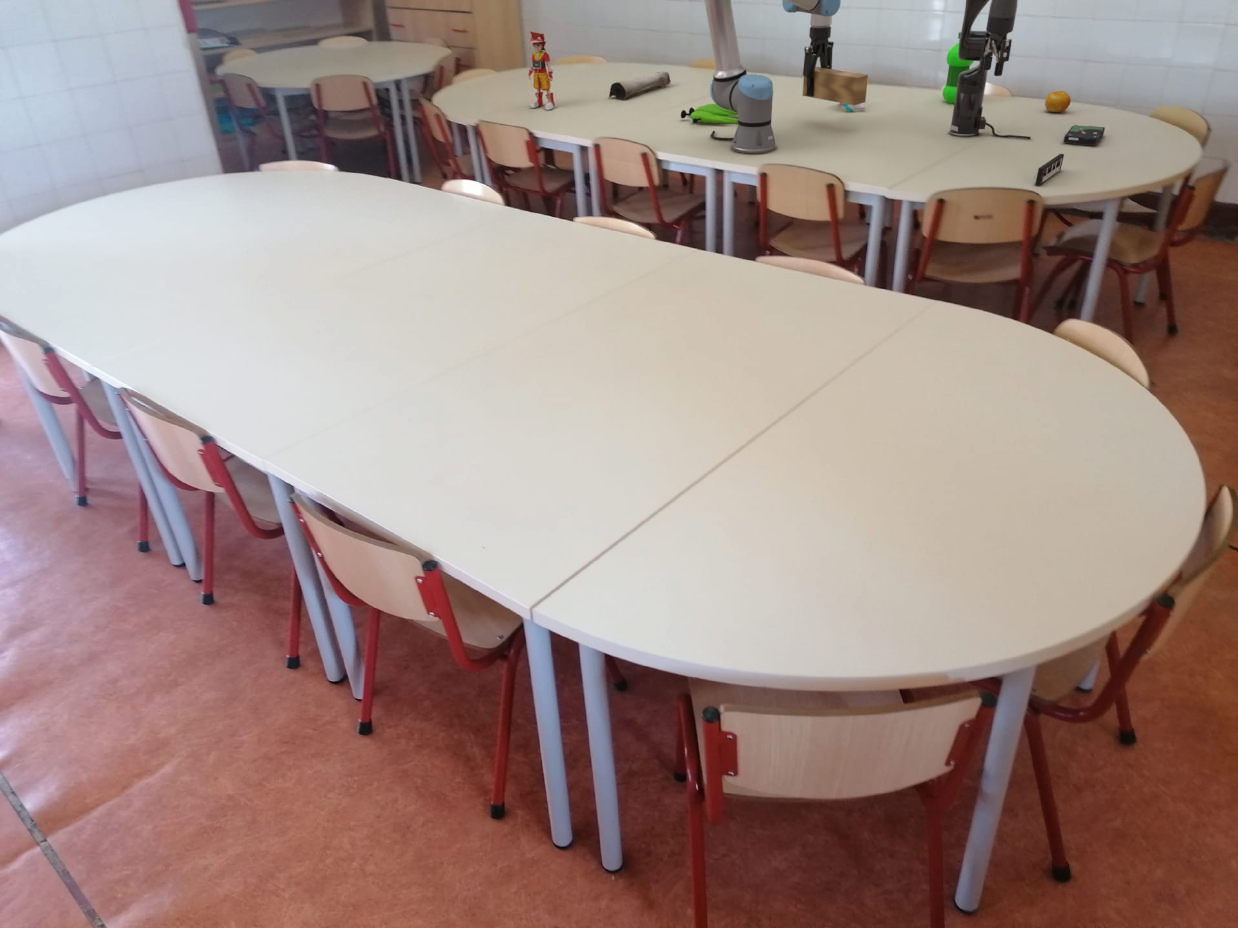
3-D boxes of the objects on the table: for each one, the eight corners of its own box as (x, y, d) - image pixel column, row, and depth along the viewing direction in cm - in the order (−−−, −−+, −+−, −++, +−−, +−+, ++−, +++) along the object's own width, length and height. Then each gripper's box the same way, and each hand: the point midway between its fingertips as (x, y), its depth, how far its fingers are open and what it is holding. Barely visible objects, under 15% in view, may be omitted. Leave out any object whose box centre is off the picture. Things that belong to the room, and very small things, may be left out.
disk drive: (1096, 147, 298) (1103, 135, 308) (1098, 138, 296) (1105, 126, 306) (1062, 144, 302) (1070, 132, 312) (1064, 135, 301) (1072, 124, 311)
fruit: (1041, 103, 332) (1056, 84, 329) (1039, 107, 340) (1054, 87, 337) (1060, 116, 331) (1076, 96, 328) (1058, 119, 339) (1073, 100, 335)
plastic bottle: (973, 101, 354) (984, 32, 339) (955, 106, 349) (966, 36, 335) (952, 97, 361) (962, 29, 346) (934, 102, 356) (944, 33, 342)
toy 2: (670, 122, 346) (740, 135, 334) (671, 108, 344) (742, 120, 331) (703, 111, 367) (770, 123, 354) (704, 98, 364) (772, 109, 351)
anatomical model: (829, 82, 357) (854, 75, 356) (832, 108, 363) (856, 101, 362) (839, 90, 345) (865, 83, 344) (842, 117, 351) (867, 111, 350)
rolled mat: (651, 76, 408) (662, 61, 399) (662, 93, 408) (674, 79, 400) (605, 92, 391) (616, 77, 383) (617, 110, 391) (628, 95, 383)
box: (865, 102, 323) (868, 74, 318) (854, 105, 320) (857, 78, 315) (813, 92, 339) (814, 66, 334) (802, 96, 336) (804, 69, 331)
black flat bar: (1039, 185, 269) (1043, 168, 266) (1035, 184, 270) (1038, 168, 267) (1060, 170, 279) (1064, 154, 277) (1056, 169, 280) (1060, 153, 277)
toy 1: (525, 109, 381) (517, 32, 364) (534, 104, 388) (527, 28, 371) (550, 110, 377) (543, 32, 360) (559, 105, 384) (553, 28, 367)
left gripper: (829, 21, 329) (824, 88, 342) (794, 29, 319) (791, 97, 332) (845, 23, 324) (840, 90, 337) (811, 31, 314) (806, 100, 327)
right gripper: (980, 11, 271) (970, 69, 280) (999, 19, 259) (989, 78, 268) (1004, 10, 271) (994, 67, 280) (1025, 17, 259) (1013, 77, 268)
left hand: (815, 94), depth 335 cm, fingers closed on box, 6 cm apart
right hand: (992, 73), depth 274 cm, fingers open, 8 cm apart
